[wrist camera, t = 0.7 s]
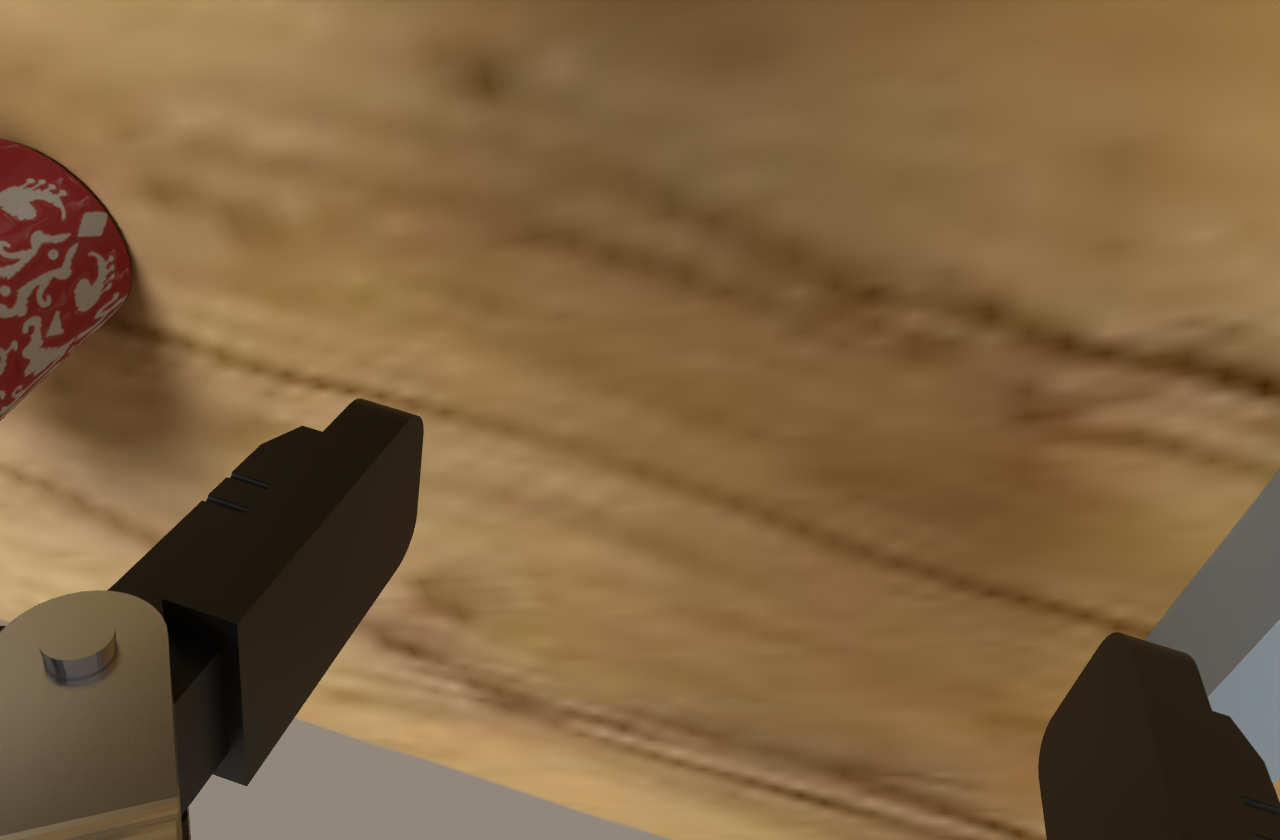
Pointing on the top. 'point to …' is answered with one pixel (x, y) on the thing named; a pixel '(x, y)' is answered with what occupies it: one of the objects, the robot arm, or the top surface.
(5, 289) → the mug
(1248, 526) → the rail
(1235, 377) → the top surface
